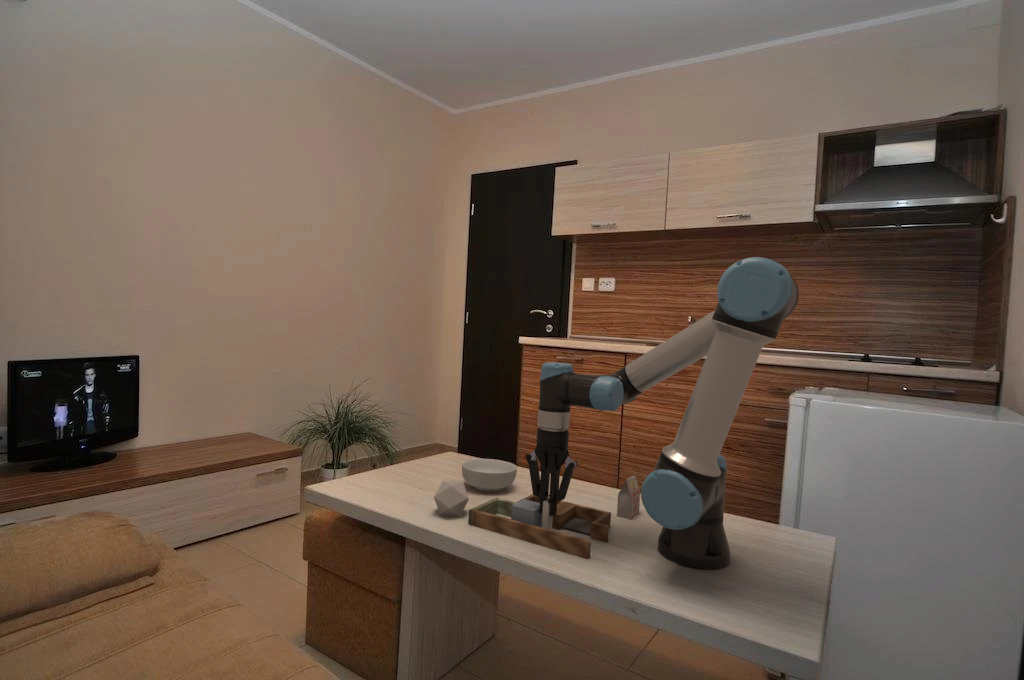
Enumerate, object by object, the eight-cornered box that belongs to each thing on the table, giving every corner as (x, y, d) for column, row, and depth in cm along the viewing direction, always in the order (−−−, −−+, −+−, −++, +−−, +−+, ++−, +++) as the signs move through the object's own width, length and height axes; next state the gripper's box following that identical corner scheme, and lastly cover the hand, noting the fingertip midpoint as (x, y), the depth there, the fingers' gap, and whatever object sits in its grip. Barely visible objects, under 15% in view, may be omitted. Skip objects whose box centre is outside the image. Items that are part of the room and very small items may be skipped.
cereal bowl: (495, 500, 142) (497, 475, 142) (449, 488, 151) (450, 465, 151) (525, 487, 157) (527, 464, 157) (481, 477, 165) (483, 455, 165)
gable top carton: (616, 516, 135) (618, 479, 135) (626, 510, 140) (628, 474, 140) (630, 519, 133) (632, 481, 133) (639, 513, 138) (641, 476, 138)
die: (452, 525, 123) (476, 490, 126) (423, 503, 125) (447, 469, 128) (455, 525, 131) (477, 492, 134) (427, 505, 133) (450, 473, 136)
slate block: (544, 529, 123) (545, 504, 123) (532, 536, 117) (534, 511, 117) (522, 523, 126) (524, 499, 126) (510, 530, 120) (511, 505, 120)
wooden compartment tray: (621, 528, 125) (621, 514, 125) (587, 559, 107) (588, 542, 107) (513, 502, 141) (514, 489, 141) (468, 524, 123) (468, 509, 123)
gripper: (585, 430, 119) (578, 530, 119) (536, 422, 125) (530, 517, 125) (571, 434, 112) (565, 540, 112) (521, 426, 119) (515, 525, 119)
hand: (546, 528), depth 119 cm, fingers closed
